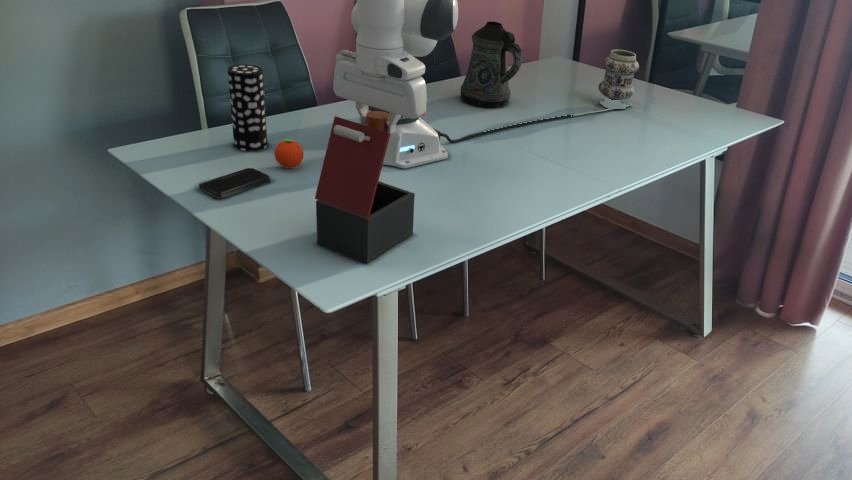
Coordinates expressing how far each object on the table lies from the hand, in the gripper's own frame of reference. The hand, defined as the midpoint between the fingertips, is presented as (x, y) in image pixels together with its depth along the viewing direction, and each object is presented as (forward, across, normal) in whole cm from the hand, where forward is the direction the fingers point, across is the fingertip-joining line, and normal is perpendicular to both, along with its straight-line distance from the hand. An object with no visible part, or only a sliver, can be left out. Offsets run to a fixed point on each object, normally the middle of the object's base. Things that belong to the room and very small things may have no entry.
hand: (378, 128), depth 151 cm
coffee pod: (+2, 0, 0) cm, 2 cm away
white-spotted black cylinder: (+24, -54, +19) cm, 62 cm away
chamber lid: (+6, 0, -8) cm, 10 cm away
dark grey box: (+24, 0, -3) cm, 24 cm away
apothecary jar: (+24, +6, +126) cm, 128 cm away
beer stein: (+24, -27, +98) cm, 104 cm away
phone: (+24, -39, -2) cm, 46 cm away
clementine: (+24, -38, +15) cm, 47 cm away
